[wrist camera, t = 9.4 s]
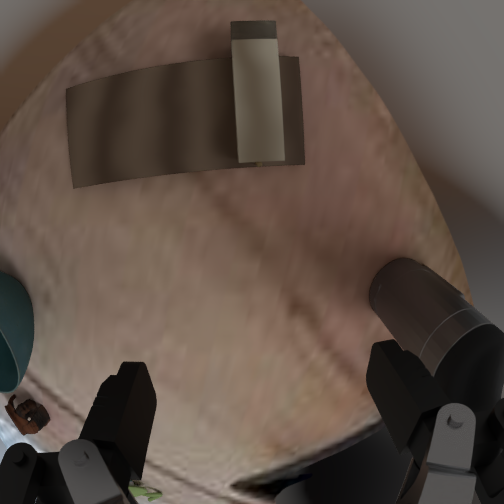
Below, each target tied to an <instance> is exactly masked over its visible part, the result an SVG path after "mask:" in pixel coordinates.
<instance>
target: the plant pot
mask: <svg viewBox="0 0 504 504" xmlns="http://www.w3.org/2000/svg"><path fill="white" fill-rule="evenodd" d="M33 341H34V316H33V309H32V304H31V301H30V298H29V296H28V294H27V292H26V290H25V289H24V287H23V286H22V285H21V284H20V283H19V282H18V281H17V280H16V279H15V278H13V277H12V276H10V275H8V274H6V273H3V272H1V271H0V393H11V392H14V391H15V390H16V389H17V388H18V386H19V384H20V383H21V381H22V379H23V377H24V374H25V372H26V369H27V366H28V364H29V360H30V357H31V353H32V348H33Z"/></svg>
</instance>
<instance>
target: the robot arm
mask: <svg viewBox="0 0 504 504" xmlns="http://www.w3.org/2000/svg"><path fill="white" fill-rule="evenodd" d="M369 299H370V304H371V306H372V308H373V310H374V311H375V313H376V314H377V315H378V317H379V318H380V319H381V321H382V322H383V323H384V325H385V326H386V327H387V329H388V330H389V331H390V333H391V334H392V335H393V337H394V338H395V339H396V340H394V339H391V340H386V341H381V342H376V343H374V344H373V346H372V349H371V354H370V359H369V364H368V369H367V373H366V383H367V387H368V390H369V392H370V394H371V396H372V398H373V400H374V402H375V404H376V406H377V408H378V411H379V413H380V415H381V417H382V419H383V421H384V423H385V425H386V427H387V429H388V431H389V433H390V436H391V438H392V439H393V442H394V444H395V446H396V448H397V450H398V453H399V455H402V454H405V453H408V452H411V453H412V455H413V458H412V460H411V462H410V465H409V468H408V471H407V474H406V477H405V480H404V482H403V485H402V488H401V490H400V493H399V496H398V498H397V501H396V503H395V504H471V503H472V498H473V493H474V489H475V491H476V493H477V495H478V498H479V500H480V502H481V504H504V398H502V399H501V393H502V387H503V384H504V333H503V332H502V331H501V330H500V329H499V328H498V327H496V326H495V325H494V324H493V323H492V322H491V321H489V320H488V319H487V318H486V317H485V316H484V315H483V314H481V313H480V312H479V311H478V310H477V309H475V308H474V307H473V306H472V305H471V304H469V303H468V302H467V301H466V300H465V297H464V295H463V293H461V292H460V291H459V290H457V289H456V288H455V287H454V286H452V285H451V284H450V283H448V282H447V281H446V280H445V279H443V278H442V277H441V276H439V275H438V274H437V273H435V272H434V271H433V270H431V269H430V268H429V267H427V266H421V265H420V264H419V263H417V262H416V261H414V260H412V259H408V258H402V259H397V260H394V261H392V262H390V263H389V264H387V265H386V266H385V267H384V268H382V269H381V271H380V272H379V273H378V274H377V276H376V277H375V279H374V280H373V283H372V285H371V289H370V297H369ZM396 341H397V342H398V343H399V344H398V343H397V342H396ZM399 345H400V346H401V347H400V346H399ZM402 349H403V350H404V351H403V350H402ZM156 406H157V399H156V393H155V390H154V387H153V384H152V381H151V378H150V375H149V373H148V370H147V367H146V364H145V363H144V362H123V363H122V364H121V366H120V369H119V371H118V373H117V375H110V376H109V377H108V378H107V379H106V380H105V381H104V382H103V383H102V384H101V386H100V389H99V391H98V393H97V397H96V398H95V400H94V402H93V406H92V407H91V409H90V412H89V414H88V417H87V419H86V421H85V424H84V426H83V429H82V431H81V434H80V436H79V438H78V439H76V440H72V441H70V442H68V443H66V444H65V445H64V446H63V447H62V448H61V450H60V452H49V453H37V451H36V450H35V449H34V448H33V447H32V446H31V445H29V444H27V443H16V444H14V445H12V446H11V447H9V448H8V449H7V451H6V452H5V454H4V457H3V459H2V462H1V464H0V504H138V502H137V501H136V499H135V497H134V496H133V494H132V493H131V491H130V490H129V488H128V487H129V482H130V479H133V480H141V478H142V473H143V468H144V463H145V458H146V453H147V448H148V443H149V439H150V434H151V429H152V425H153V420H154V416H155V411H156ZM36 497H37V499H36ZM35 501H36V502H35Z"/></svg>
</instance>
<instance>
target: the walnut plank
mask: <svg viewBox="0 0 504 504" xmlns="http://www.w3.org/2000/svg"><path fill="white" fill-rule="evenodd" d="M279 69H280V83H281V98H282V114H283V133H284V153H285V161H263V162H262V166H282V165H305V152H304V130H303V111H302V95H301V81H300V68H299V57H289V56H279ZM66 107H67V129H68V144H69V155H70V165H71V173H72V181H73V189H74V188H80V187H85V186H91V185H97V184H103V183H109V182H115V181H122V180H129V179H136V178H143V177H151V176H159V175H167V174H176V173H185V172H195V171H206V170H217V169H230V168H244V167H258V166H257V165H255V162H245V163H239V161H238V150H237V134H236V118H235V102H234V85H233V67H232V58H221V59H209V60H199V61H191V62H183V63H176V64H169V65H163V66H157V67H151V68H146V69H141V70H136V71H131V72H126V73H122V74H117V75H113V76H109V77H105V78H101V79H98V80H94V81H90V82H87V83H83V84H80V85H77V86H74V87H70V88H67V89H66Z"/></svg>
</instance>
